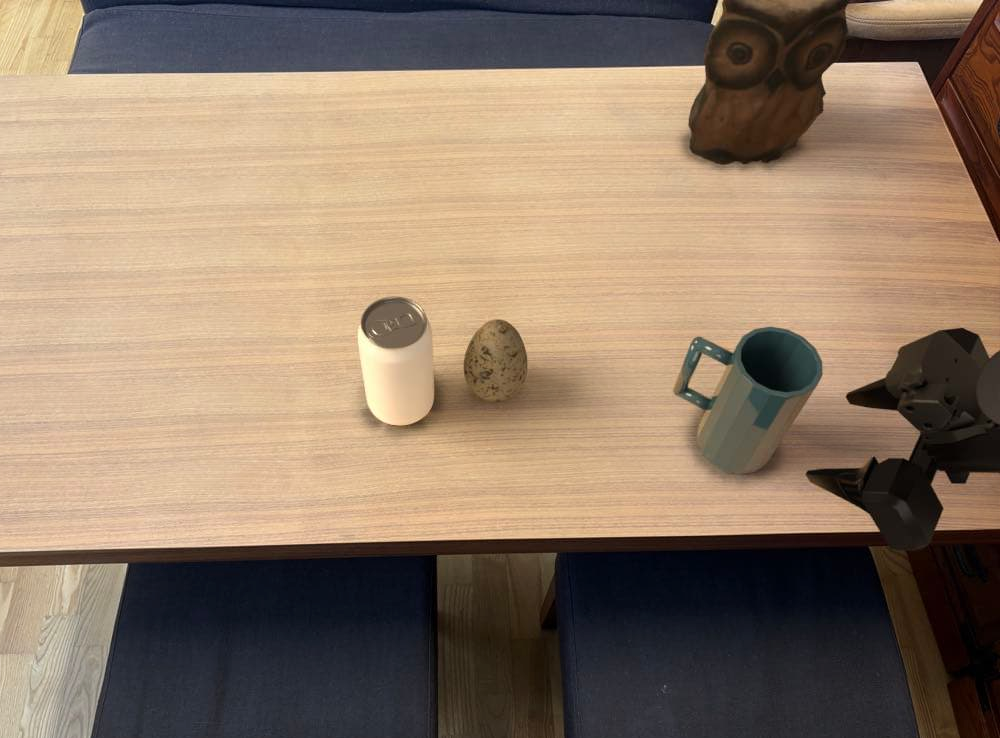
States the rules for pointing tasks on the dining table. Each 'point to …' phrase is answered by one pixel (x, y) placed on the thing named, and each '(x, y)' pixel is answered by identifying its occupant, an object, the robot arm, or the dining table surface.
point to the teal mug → (751, 395)
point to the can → (397, 360)
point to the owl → (764, 77)
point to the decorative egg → (495, 361)
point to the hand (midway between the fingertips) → (828, 436)
